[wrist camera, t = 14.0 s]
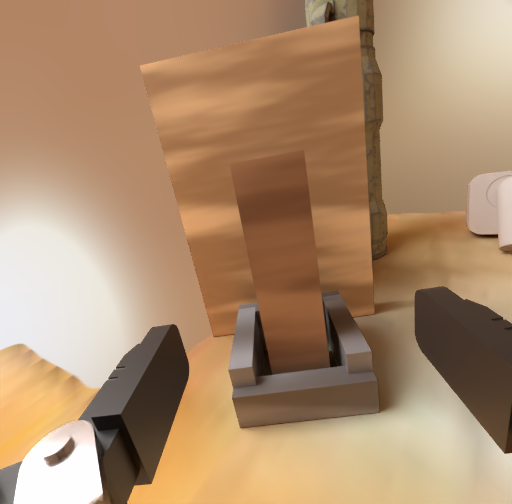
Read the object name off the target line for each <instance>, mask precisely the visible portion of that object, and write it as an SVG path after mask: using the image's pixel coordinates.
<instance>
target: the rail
mask: <svg viewBox="0 0 512 504" xmlns="http://www.w3.org/2000/svg"><path fill="white" fill-rule="evenodd" d="M229 165H230V170H231V175H232V180H233V185H234V189H235V194H236V199H237V204H238V209H239V214H240V219H241V224H242V229H243V234H244V238H245V243H246V248H247V253H248V258H249V263H250V268H251V273H252V278H253V283H254V288H255V292H256V297H257V302H258V307H259V312H260V317H261V322H262V327H263V332H264V337H265V341H266V346H267V351H268V356H269V361H270V366H271V371H272V375H275V374H283V373H291V372H298V371H306V370H314V369H322V368H330V361H329V353H328V344H327V336H326V328H325V319H324V311H323V303H322V295H321V286H320V278H319V270H318V261H317V253H316V245H315V236H314V228H313V220H312V211H311V203H310V195H309V186H308V178H307V170H306V161H305V153H304V150H300V151H295V152H290V153H285V154H279V155H274V156H269V157H264V158H259V159H254V160H248V161H243V162H238V163H233V164H229Z"/></svg>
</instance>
